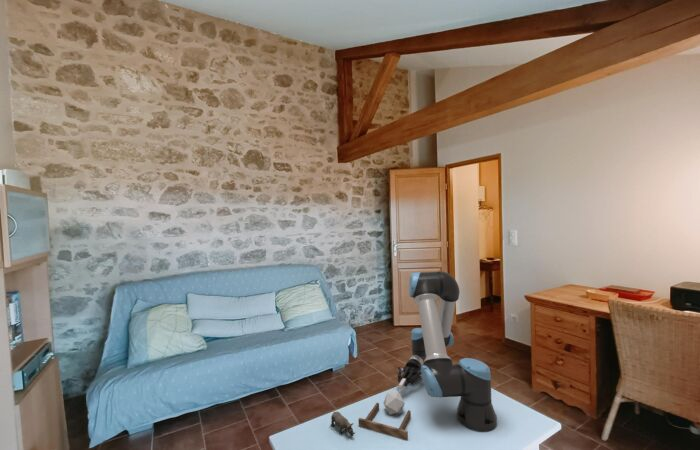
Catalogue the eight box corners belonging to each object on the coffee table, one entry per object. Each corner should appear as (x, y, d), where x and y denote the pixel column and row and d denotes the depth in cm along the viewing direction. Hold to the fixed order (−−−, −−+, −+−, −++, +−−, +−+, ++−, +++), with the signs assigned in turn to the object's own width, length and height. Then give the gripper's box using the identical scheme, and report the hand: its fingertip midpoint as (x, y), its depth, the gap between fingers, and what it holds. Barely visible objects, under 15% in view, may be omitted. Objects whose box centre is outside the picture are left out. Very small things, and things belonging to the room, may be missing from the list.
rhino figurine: (350, 443, 118) (350, 427, 118) (328, 426, 128) (328, 411, 128) (359, 438, 120) (358, 422, 120) (336, 421, 131) (336, 407, 131)
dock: (416, 419, 130) (416, 412, 130) (407, 440, 118) (406, 432, 118) (371, 408, 139) (371, 401, 139) (358, 426, 127) (358, 419, 127)
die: (401, 422, 130) (410, 398, 133) (382, 411, 130) (391, 388, 134) (396, 417, 137) (404, 395, 141) (378, 407, 138) (387, 385, 141)
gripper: (427, 375, 161) (414, 399, 140) (402, 370, 167) (386, 393, 146) (426, 360, 161) (414, 382, 140) (401, 356, 167) (386, 377, 146)
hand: (400, 388), depth 143 cm, fingers closed
